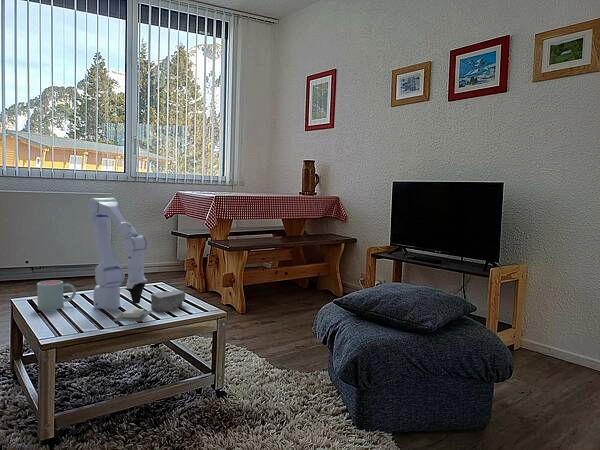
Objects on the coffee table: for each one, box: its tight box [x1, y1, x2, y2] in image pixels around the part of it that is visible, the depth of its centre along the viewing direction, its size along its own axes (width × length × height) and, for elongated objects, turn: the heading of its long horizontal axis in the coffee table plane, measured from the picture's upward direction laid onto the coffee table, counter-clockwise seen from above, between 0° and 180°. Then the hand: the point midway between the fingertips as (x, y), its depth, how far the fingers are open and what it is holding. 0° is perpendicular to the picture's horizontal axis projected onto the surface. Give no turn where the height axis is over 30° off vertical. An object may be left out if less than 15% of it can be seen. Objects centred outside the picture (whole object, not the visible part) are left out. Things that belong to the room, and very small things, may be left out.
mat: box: [112, 310, 153, 323], centre depth 180 cm, size 10×14×1 cm
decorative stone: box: [150, 289, 186, 314], centre depth 192 cm, size 15×7×10 cm
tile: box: [121, 308, 145, 318], centre depth 180 cm, size 6×2×6 cm
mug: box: [36, 279, 77, 312], centre depth 192 cm, size 14×9×10 cm
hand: (136, 303), depth 182 cm, fingers closed
